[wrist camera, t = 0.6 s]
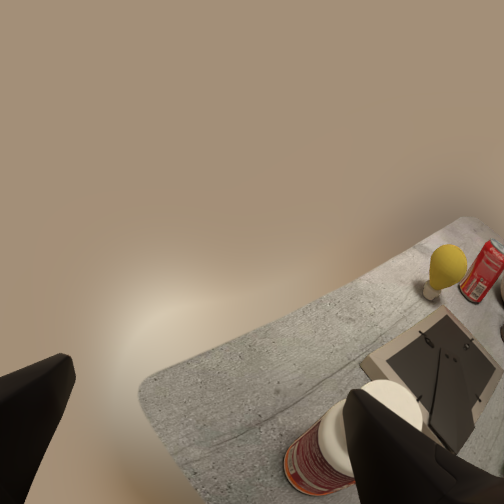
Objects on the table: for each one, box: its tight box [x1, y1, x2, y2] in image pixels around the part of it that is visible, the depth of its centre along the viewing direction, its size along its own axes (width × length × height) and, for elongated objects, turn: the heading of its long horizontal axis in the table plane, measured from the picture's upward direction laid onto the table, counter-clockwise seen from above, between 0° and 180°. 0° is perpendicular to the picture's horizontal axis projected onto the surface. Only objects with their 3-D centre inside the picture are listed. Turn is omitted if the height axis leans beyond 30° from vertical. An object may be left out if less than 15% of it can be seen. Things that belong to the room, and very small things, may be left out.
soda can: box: [460, 238, 504, 302], centre depth 46 cm, size 6×6×12 cm
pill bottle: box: [284, 380, 422, 496], centre depth 18 cm, size 6×6×11 cm
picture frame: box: [360, 305, 504, 455], centre depth 31 cm, size 16×3×21 cm
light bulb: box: [423, 244, 467, 300], centre depth 43 cm, size 7×7×10 cm
